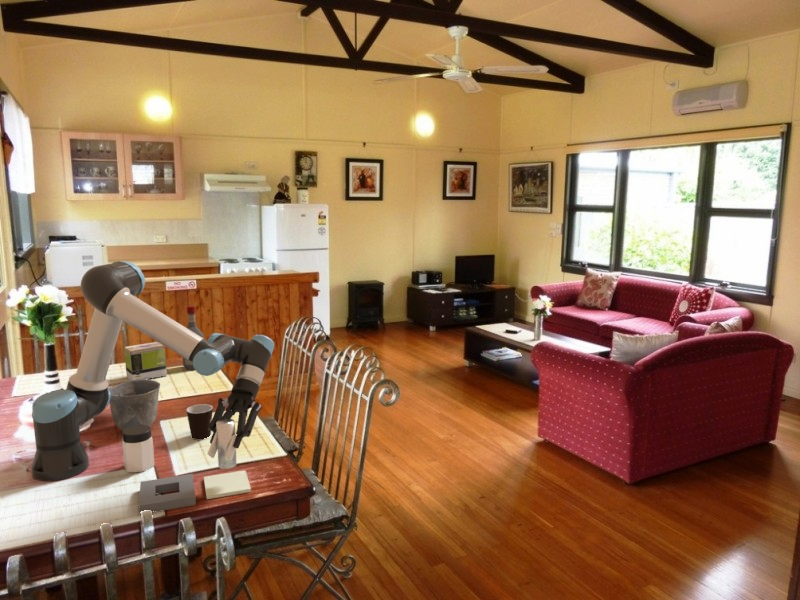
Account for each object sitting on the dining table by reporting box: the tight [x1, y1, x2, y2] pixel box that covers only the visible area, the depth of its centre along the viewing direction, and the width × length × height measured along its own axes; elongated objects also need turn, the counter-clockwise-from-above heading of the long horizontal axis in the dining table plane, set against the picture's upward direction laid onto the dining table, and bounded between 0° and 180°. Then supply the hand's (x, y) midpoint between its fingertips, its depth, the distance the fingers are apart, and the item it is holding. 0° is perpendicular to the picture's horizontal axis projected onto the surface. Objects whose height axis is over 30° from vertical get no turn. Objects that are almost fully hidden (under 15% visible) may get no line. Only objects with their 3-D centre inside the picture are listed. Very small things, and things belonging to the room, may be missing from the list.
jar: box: [121, 425, 155, 473], centre depth 182 cm, size 9×8×12 cm
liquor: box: [182, 305, 205, 371], centre depth 283 cm, size 9×9×30 cm
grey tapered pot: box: [108, 379, 161, 431], centre depth 212 cm, size 18×18×15 cm
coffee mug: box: [186, 403, 214, 440], centre depth 206 cm, size 12×9×10 cm
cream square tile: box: [203, 469, 252, 500], centre depth 171 cm, size 12×12×1 cm
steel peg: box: [216, 418, 238, 470], centre depth 169 cm, size 5×5×13 cm
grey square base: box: [138, 473, 196, 514], centre depth 164 cm, size 14×14×2 cm
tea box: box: [123, 341, 168, 381], centre depth 269 cm, size 15×10×15 cm, turn 130°
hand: (219, 456), depth 166 cm, fingers closed on steel peg, 5 cm apart
